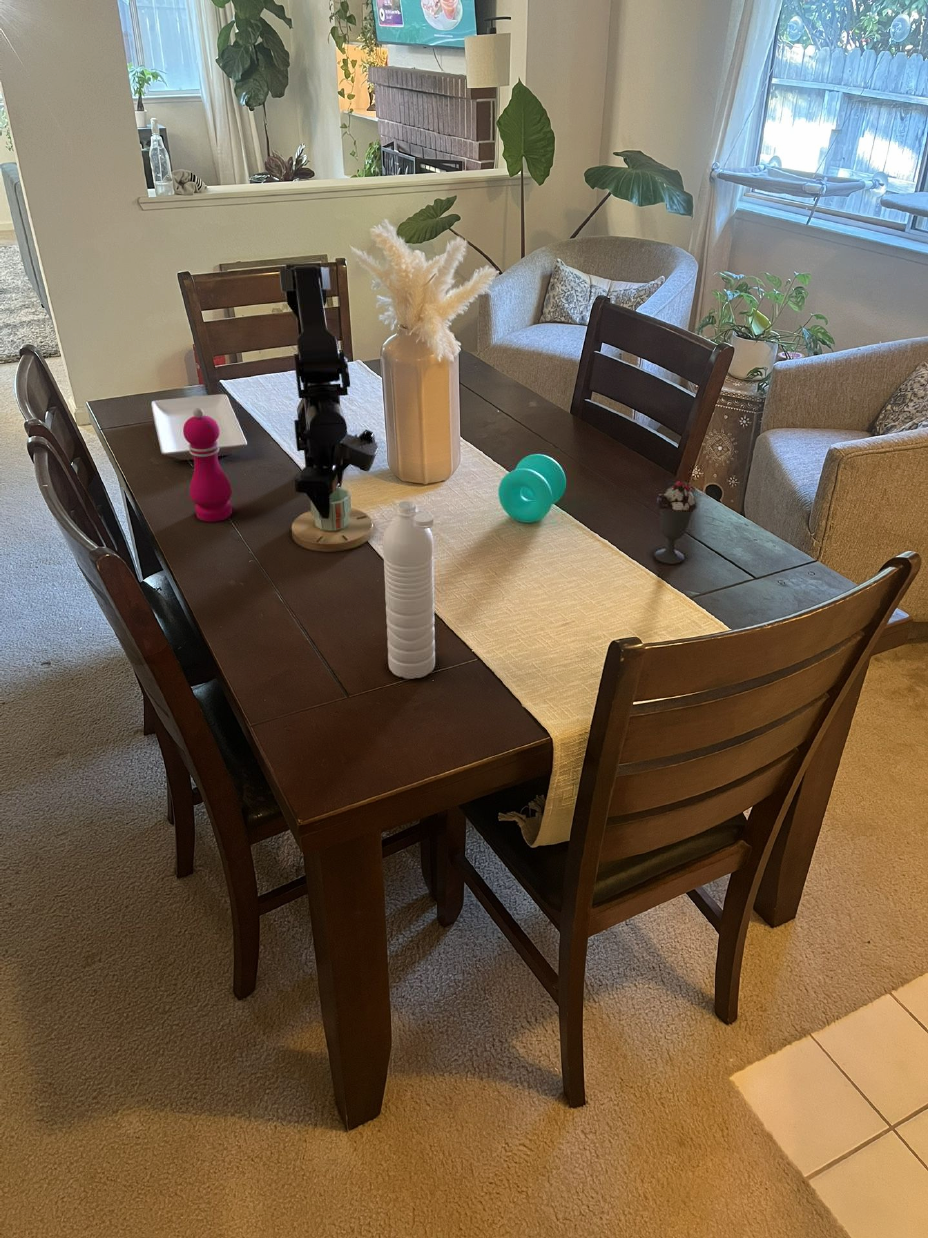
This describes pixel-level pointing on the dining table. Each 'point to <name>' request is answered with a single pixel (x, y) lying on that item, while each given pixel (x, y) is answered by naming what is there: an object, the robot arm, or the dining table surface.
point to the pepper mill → (207, 469)
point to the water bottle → (410, 592)
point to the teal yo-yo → (532, 488)
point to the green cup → (334, 511)
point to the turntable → (332, 533)
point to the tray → (179, 410)
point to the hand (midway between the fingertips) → (330, 508)
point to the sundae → (674, 519)
